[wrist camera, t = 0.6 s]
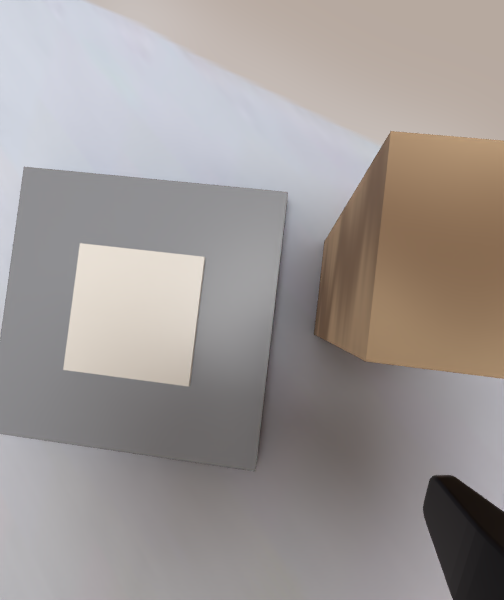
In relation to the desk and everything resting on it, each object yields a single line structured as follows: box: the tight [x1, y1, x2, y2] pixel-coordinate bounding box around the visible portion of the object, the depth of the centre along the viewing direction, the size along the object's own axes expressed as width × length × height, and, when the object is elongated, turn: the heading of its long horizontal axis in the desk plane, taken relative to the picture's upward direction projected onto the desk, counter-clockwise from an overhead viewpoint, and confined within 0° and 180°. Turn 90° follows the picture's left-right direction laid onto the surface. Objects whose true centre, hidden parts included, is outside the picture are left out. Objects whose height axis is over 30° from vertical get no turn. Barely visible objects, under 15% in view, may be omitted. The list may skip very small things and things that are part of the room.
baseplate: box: [0, 167, 288, 471], centre depth 21 cm, size 14×14×2 cm
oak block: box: [314, 131, 504, 379], centre depth 15 cm, size 5×5×13 cm
